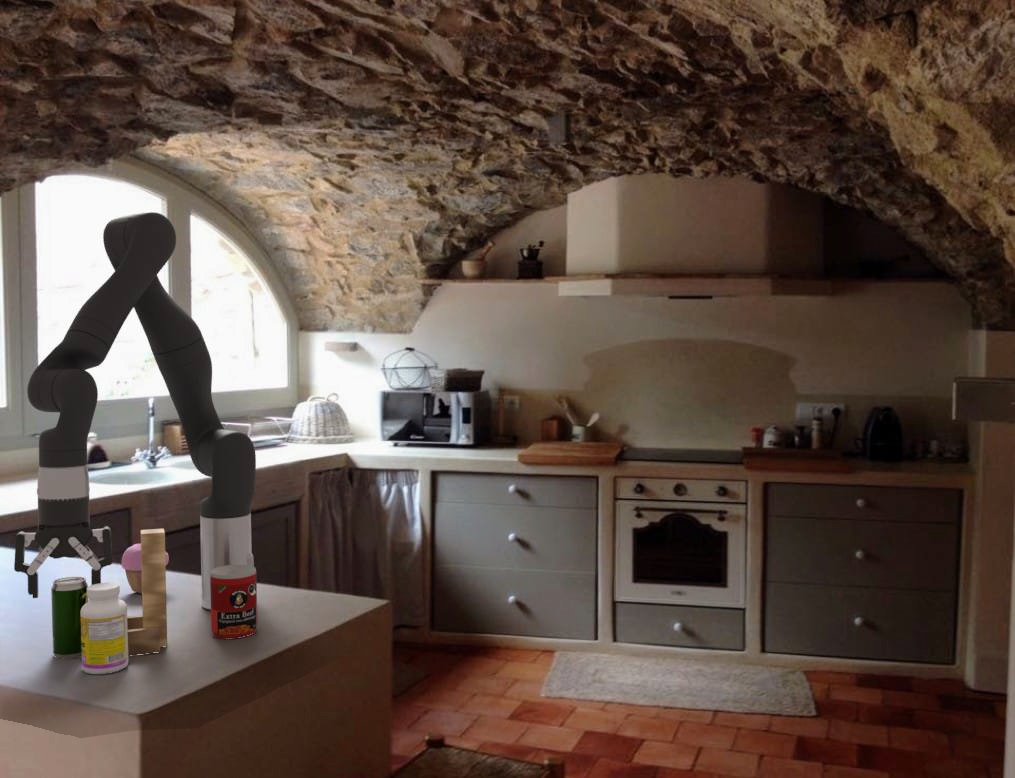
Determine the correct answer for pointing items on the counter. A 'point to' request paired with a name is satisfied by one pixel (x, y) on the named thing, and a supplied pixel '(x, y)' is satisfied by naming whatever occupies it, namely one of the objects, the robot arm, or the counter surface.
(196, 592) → the counter surface
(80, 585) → the beer can
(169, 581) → the counter surface
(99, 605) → the supplement bottle
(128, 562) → the cupcake
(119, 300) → the robot arm
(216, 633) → the canned food
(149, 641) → the channel
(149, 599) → the bar
